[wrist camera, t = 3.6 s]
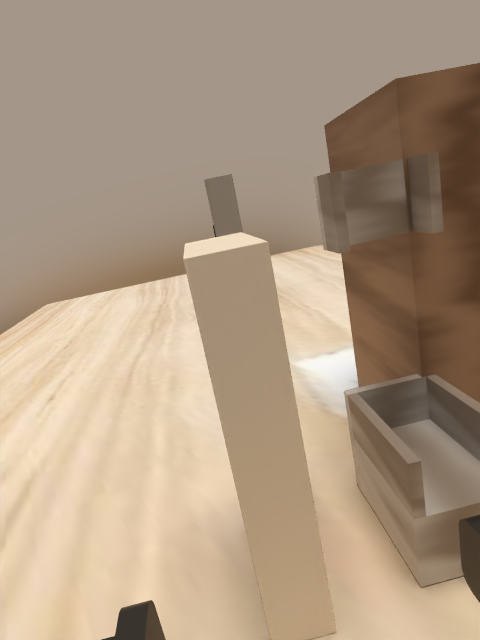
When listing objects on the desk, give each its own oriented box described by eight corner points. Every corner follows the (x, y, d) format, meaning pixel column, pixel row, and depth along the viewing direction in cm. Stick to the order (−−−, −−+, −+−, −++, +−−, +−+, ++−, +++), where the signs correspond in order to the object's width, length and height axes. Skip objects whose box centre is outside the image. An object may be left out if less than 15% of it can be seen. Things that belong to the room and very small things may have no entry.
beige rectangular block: (294, 513, 27) (240, 232, 22) (336, 632, 19) (267, 241, 15) (249, 524, 27) (185, 243, 22) (273, 649, 19) (183, 259, 15)
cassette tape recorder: (226, 295, 98) (203, 184, 92) (252, 290, 98) (231, 178, 92) (227, 309, 85) (199, 180, 78) (257, 303, 85) (232, 173, 78)
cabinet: (460, 374, 40) (443, 102, 34) (696, 512, 22) (753, -35, 15) (310, 409, 39) (264, 137, 33) (421, 587, 21) (363, 36, 14)
